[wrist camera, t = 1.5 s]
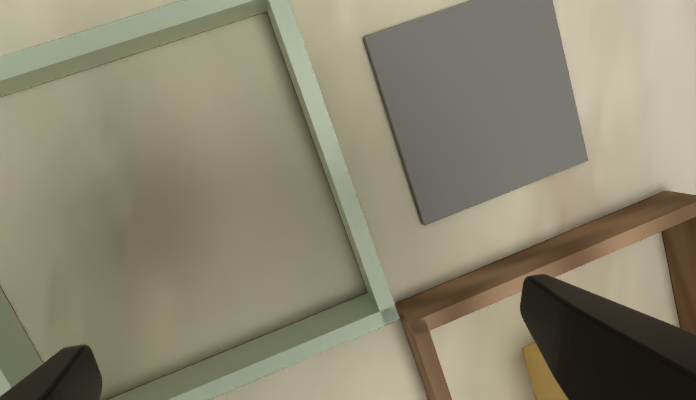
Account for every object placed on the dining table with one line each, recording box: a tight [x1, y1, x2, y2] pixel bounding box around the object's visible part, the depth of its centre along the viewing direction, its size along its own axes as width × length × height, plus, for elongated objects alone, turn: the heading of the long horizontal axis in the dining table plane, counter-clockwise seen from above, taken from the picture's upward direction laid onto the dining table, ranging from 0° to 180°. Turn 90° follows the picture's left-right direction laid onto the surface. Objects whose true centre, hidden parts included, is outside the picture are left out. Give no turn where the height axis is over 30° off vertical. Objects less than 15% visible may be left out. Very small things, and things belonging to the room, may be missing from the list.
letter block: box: [522, 343, 568, 400], centre depth 24 cm, size 5×5×6 cm
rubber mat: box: [363, 0, 588, 225], centre depth 23 cm, size 10×10×1 cm
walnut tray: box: [396, 191, 696, 400], centre depth 26 cm, size 18×17×2 cm
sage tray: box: [0, 0, 400, 400], centre depth 20 cm, size 18×17×2 cm
